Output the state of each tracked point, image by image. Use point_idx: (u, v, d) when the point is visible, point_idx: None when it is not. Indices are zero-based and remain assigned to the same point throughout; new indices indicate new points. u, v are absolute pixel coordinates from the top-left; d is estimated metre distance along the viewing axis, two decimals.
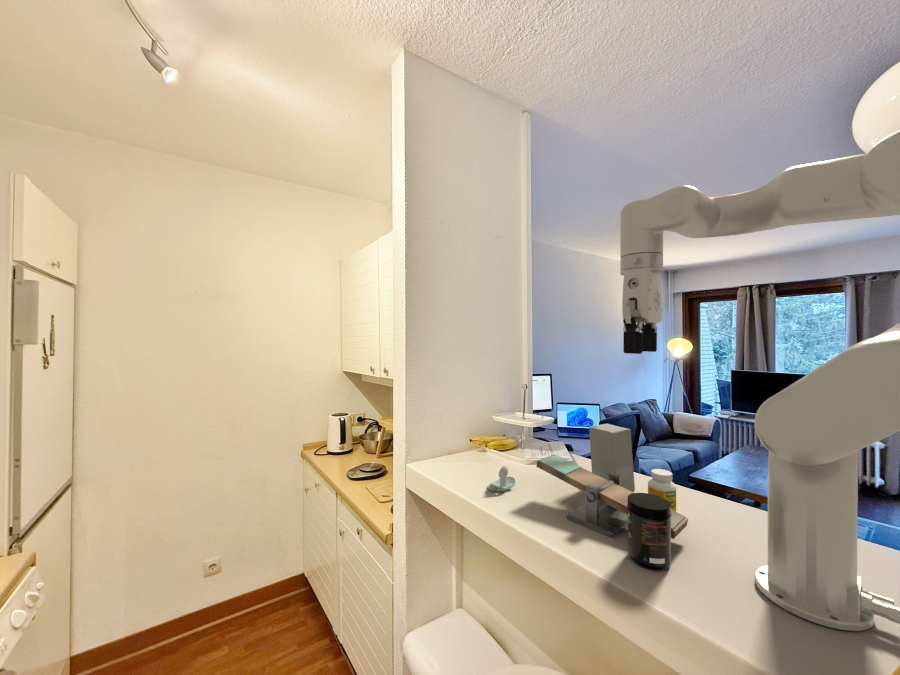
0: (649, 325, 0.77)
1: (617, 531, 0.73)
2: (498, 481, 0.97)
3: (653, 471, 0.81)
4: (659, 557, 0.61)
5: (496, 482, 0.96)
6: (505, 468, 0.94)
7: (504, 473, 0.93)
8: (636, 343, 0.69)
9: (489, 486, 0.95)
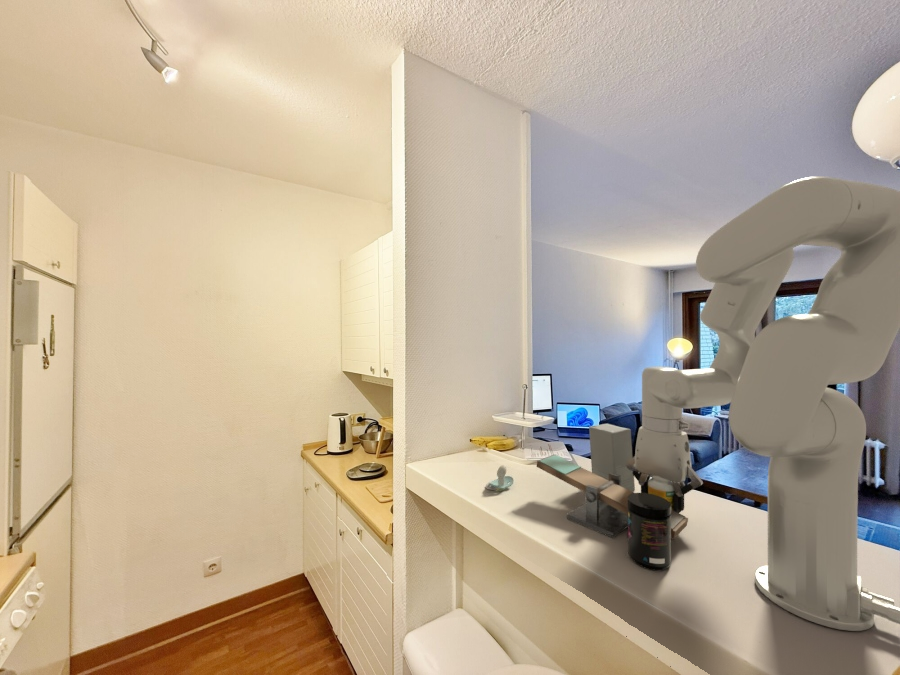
0: None
1: (617, 531, 0.73)
2: (496, 480, 0.97)
3: None
4: (659, 557, 0.61)
5: (494, 481, 0.97)
6: (503, 467, 0.94)
7: (502, 472, 0.94)
8: None
9: (487, 485, 0.95)
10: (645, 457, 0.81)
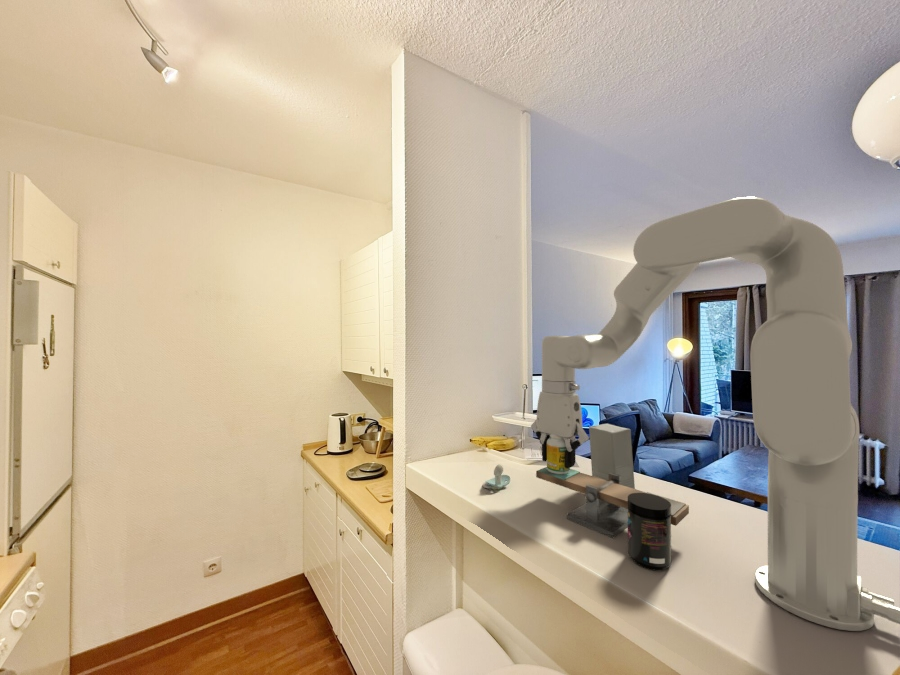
0: None
1: (617, 531, 0.73)
2: (493, 479, 0.98)
3: None
4: (659, 557, 0.61)
5: (491, 480, 0.98)
6: (500, 466, 0.95)
7: (499, 471, 0.95)
8: None
9: (484, 484, 0.96)
10: (543, 417, 0.88)
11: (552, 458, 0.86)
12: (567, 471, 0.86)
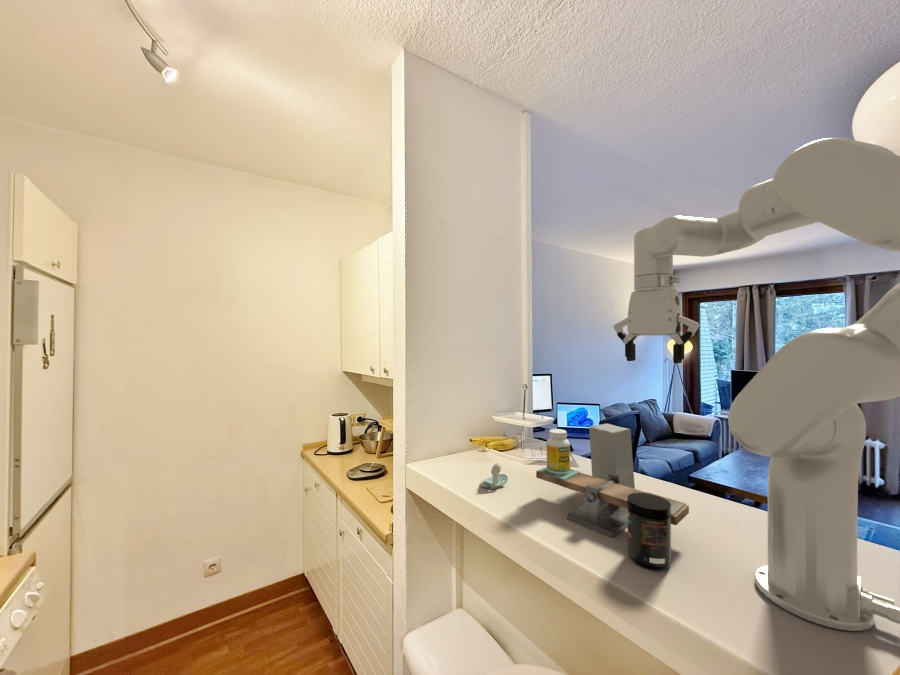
0: None
1: (617, 531, 0.73)
2: (491, 478, 0.99)
3: (550, 430, 0.89)
4: (659, 557, 0.61)
5: (489, 479, 0.98)
6: (497, 465, 0.96)
7: (496, 470, 0.95)
8: None
9: (482, 483, 0.97)
10: (637, 317, 0.82)
11: (552, 458, 0.86)
12: (567, 471, 0.86)
